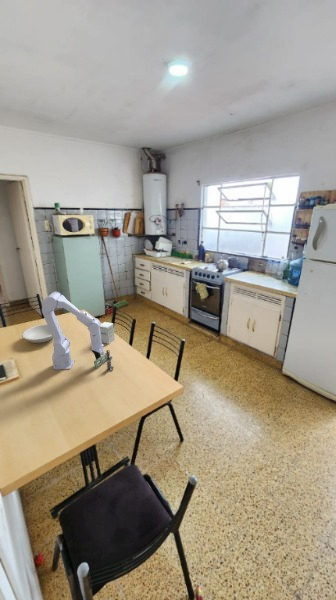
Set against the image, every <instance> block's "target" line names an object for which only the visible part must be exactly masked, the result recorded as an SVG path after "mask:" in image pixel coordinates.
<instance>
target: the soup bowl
mask: <svg viewBox="0 0 336 600" xmlns="http://www.w3.org/2000/svg"><path fill="white" fill-rule="evenodd" d="M21 337H22V338H23V340H26V341H29V342H30V343H36V344H39V343H42V344H43V343H46V342H49V341H50V340H52V339H53V337H52V334H51V332H50V330H49V327H48V325H47V323H42V324H36V325H34V326H31V327H29V328H27V329H26V330H24V331H22V334H21Z"/></svg>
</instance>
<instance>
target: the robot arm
mask: <svg viewBox="0 0 336 600" xmlns="http://www.w3.org/2000/svg"><path fill="white" fill-rule="evenodd" d="M41 304H42V307H41V313H42V315H43V317H44V320H45V322H46V323H45V324H47V325H48V327H49V330H50V332H51V334H52V337H53V338H52V339H53V343H52V346H53V353H52V356H51V359H52V365H53V370H71V368H72V367H73V365H74V363H75V360H72V358H71V357H72V356H71V351H70V345H71V341H70V340H69V339H68V338H67V335H64V334H63V331H62V328H61V327H60V324H59V321H58V319H57V316H56V314H55V311H54V310H55V309H65V310H66V311H68V312H69V313H71V314H72V315H74V316H76V320H78V321H79V322H80V323H81V324H82V325H84V326H86V327H87V330H88V332H89V336H90V337H89V338H90V345H91V347H90V348H91V352H92V353H93V355H94V357H95V361H96V360H97V359H98V358H100V357H101V356H102V355H104V354H105V351H104V349H103V348H104V346H105V345H104V344H105V343H102V341H101V332H100V325H101V320H99V319H98V318H96V317H93V316H91V315H90V314H89V313H88V311H84V310H80V309H78V307H77V306H75V305H74V303H72V302H70V300H68V299H67V298H66V297H65V296H64V295H63V294H61V292H59V291H52V292H51V293H50V294H49V295H48V296H47V297H45V299H44V300H43V301H42V303H41Z"/></svg>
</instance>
